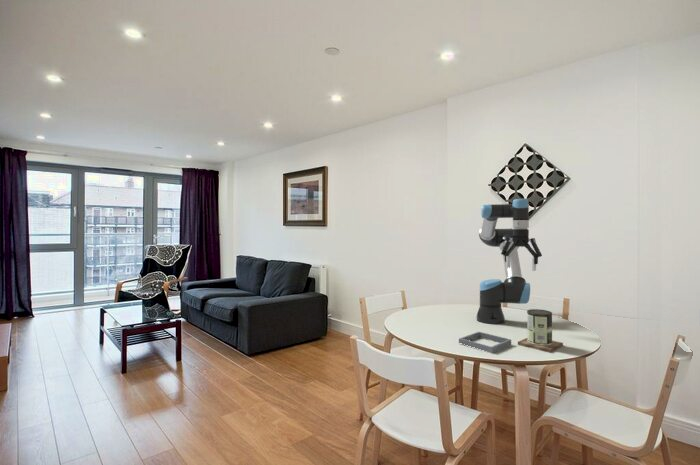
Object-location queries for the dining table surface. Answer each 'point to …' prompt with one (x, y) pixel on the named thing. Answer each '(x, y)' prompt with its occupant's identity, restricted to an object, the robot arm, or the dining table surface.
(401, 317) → the dining table surface
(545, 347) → the walnut board
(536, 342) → the coffee can
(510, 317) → the dining table surface
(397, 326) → the dining table surface
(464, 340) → the grey flat open frame
